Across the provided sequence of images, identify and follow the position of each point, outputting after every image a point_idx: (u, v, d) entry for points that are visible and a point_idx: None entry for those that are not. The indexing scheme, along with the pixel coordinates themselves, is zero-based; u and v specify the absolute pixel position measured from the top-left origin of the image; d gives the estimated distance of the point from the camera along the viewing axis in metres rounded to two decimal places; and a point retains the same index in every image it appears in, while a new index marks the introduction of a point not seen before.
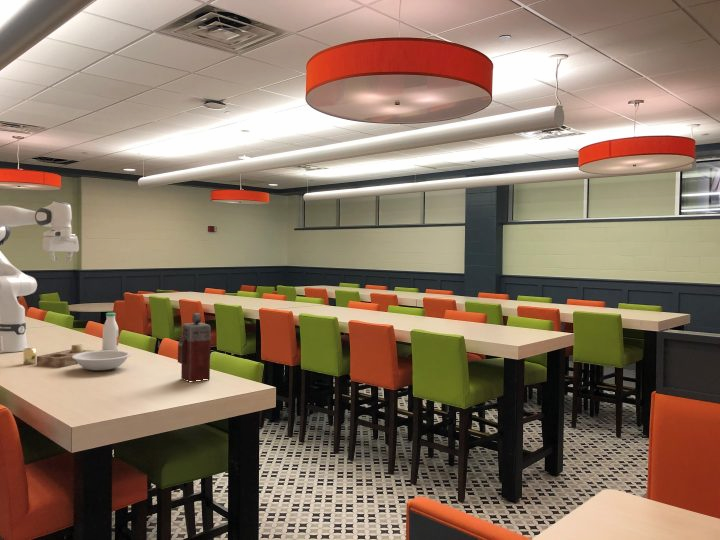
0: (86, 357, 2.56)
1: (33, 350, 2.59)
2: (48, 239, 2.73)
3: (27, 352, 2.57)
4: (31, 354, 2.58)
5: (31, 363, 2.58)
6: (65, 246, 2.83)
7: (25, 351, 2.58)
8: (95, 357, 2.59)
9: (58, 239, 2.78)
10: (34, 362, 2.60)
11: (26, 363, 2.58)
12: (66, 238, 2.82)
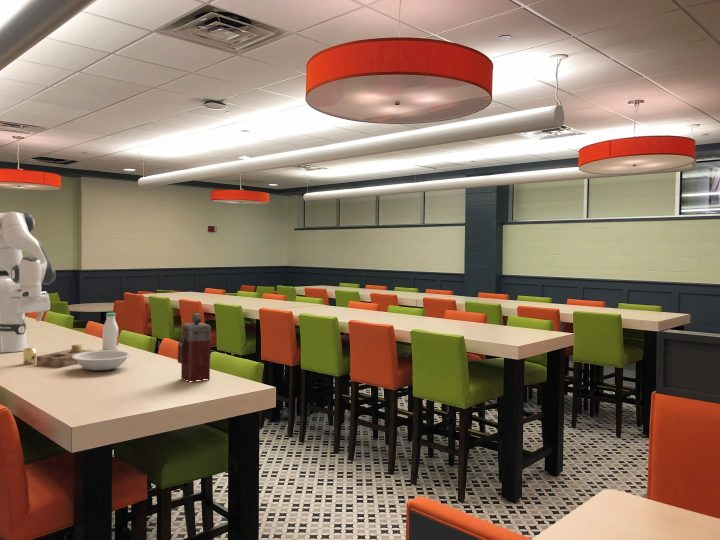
0: (86, 357, 2.56)
1: (33, 350, 2.59)
2: (15, 301, 2.50)
3: (27, 352, 2.57)
4: (31, 354, 2.58)
5: (31, 363, 2.58)
6: (34, 306, 2.60)
7: (25, 351, 2.58)
8: (95, 357, 2.59)
9: (26, 299, 2.54)
10: (34, 362, 2.60)
11: (26, 363, 2.58)
12: (35, 297, 2.58)
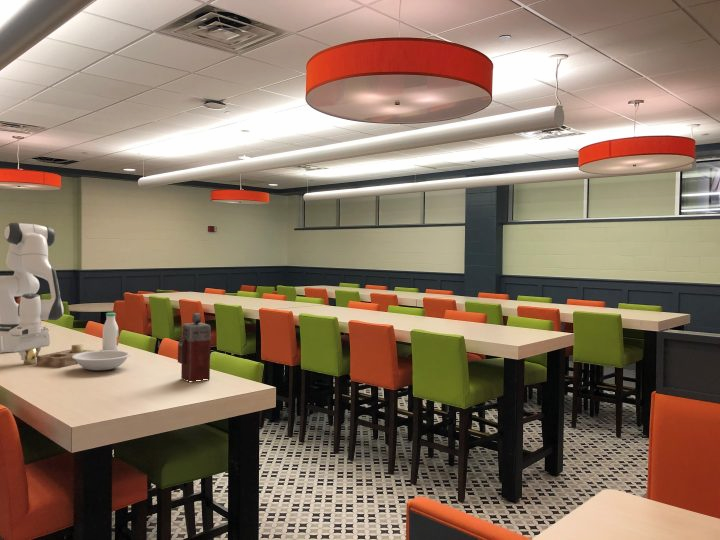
0: (86, 357, 2.56)
1: (33, 350, 2.59)
2: (14, 339, 2.50)
3: (27, 352, 2.57)
4: (31, 354, 2.58)
5: (31, 363, 2.58)
6: (34, 343, 2.60)
7: (25, 351, 2.58)
8: (95, 357, 2.59)
9: (26, 337, 2.55)
10: (34, 362, 2.60)
11: (26, 363, 2.58)
12: (35, 334, 2.59)
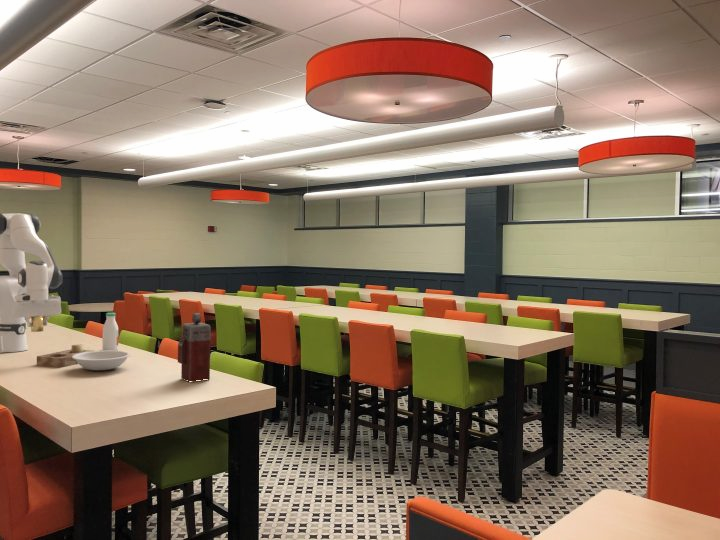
0: (86, 357, 2.56)
1: (38, 317, 2.58)
2: (15, 304, 2.51)
3: (32, 319, 2.57)
4: (36, 321, 2.57)
5: (36, 330, 2.57)
6: (40, 310, 2.59)
7: (31, 318, 2.57)
8: (95, 357, 2.59)
9: (29, 303, 2.54)
10: (40, 329, 2.58)
11: (32, 330, 2.57)
12: (39, 301, 2.57)
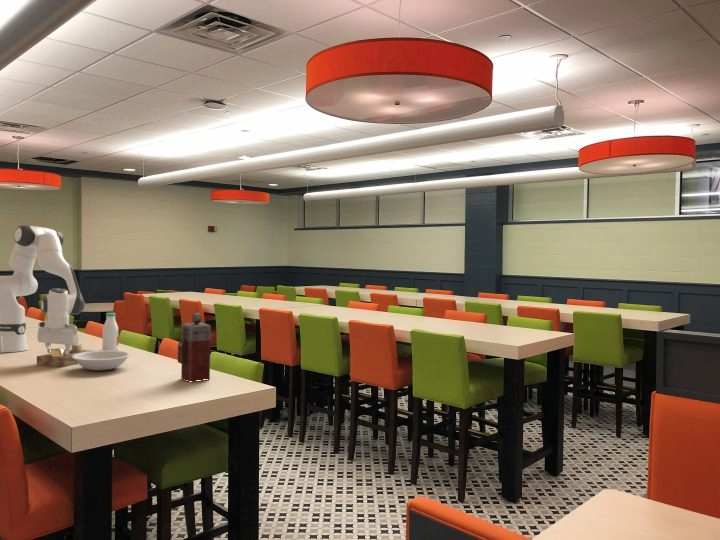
0: (86, 357, 2.56)
1: (52, 351, 2.58)
2: None
3: None
4: (51, 354, 2.59)
5: None
6: (56, 338, 2.59)
7: None
8: (95, 357, 2.59)
9: (46, 330, 2.59)
10: None
11: None
12: (52, 329, 2.57)
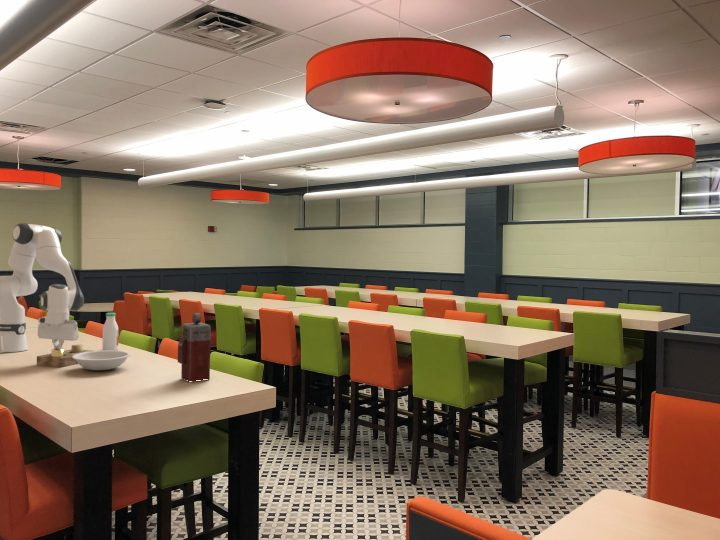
0: (86, 357, 2.56)
1: (52, 351, 2.58)
2: None
3: None
4: (51, 354, 2.59)
5: None
6: (56, 333, 2.58)
7: None
8: (95, 357, 2.59)
9: (46, 326, 2.59)
10: None
11: None
12: (52, 325, 2.57)
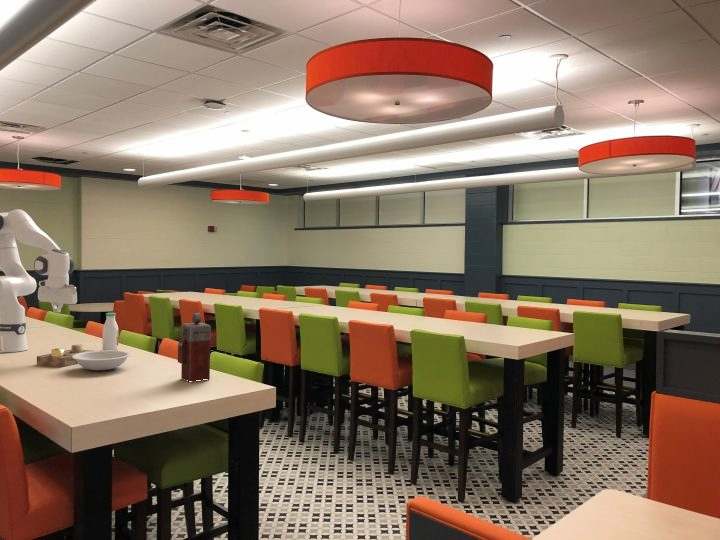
0: (86, 357, 2.56)
1: (52, 351, 2.58)
2: None
3: None
4: (51, 354, 2.59)
5: None
6: (55, 297, 2.68)
7: None
8: (95, 357, 2.59)
9: (46, 289, 2.68)
10: None
11: None
12: (52, 288, 2.66)
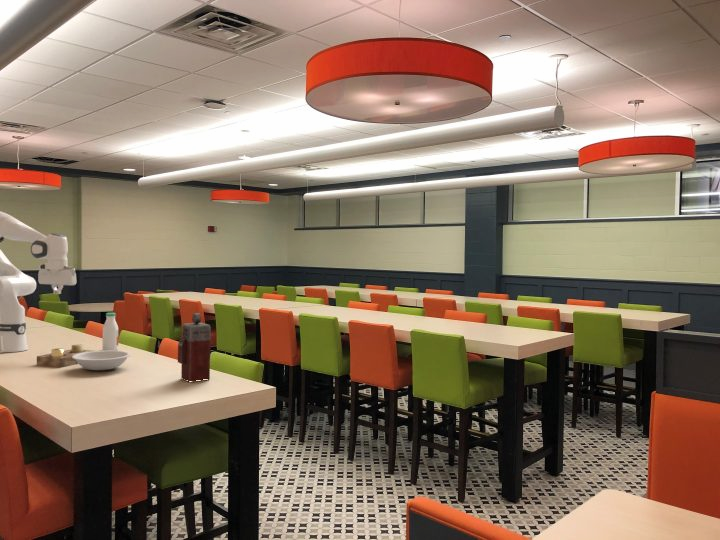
0: (87, 357, 2.56)
1: (52, 351, 2.58)
2: None
3: None
4: (51, 354, 2.59)
5: None
6: (55, 279, 2.77)
7: None
8: (95, 357, 2.59)
9: (46, 272, 2.78)
10: None
11: None
12: (52, 271, 2.76)
